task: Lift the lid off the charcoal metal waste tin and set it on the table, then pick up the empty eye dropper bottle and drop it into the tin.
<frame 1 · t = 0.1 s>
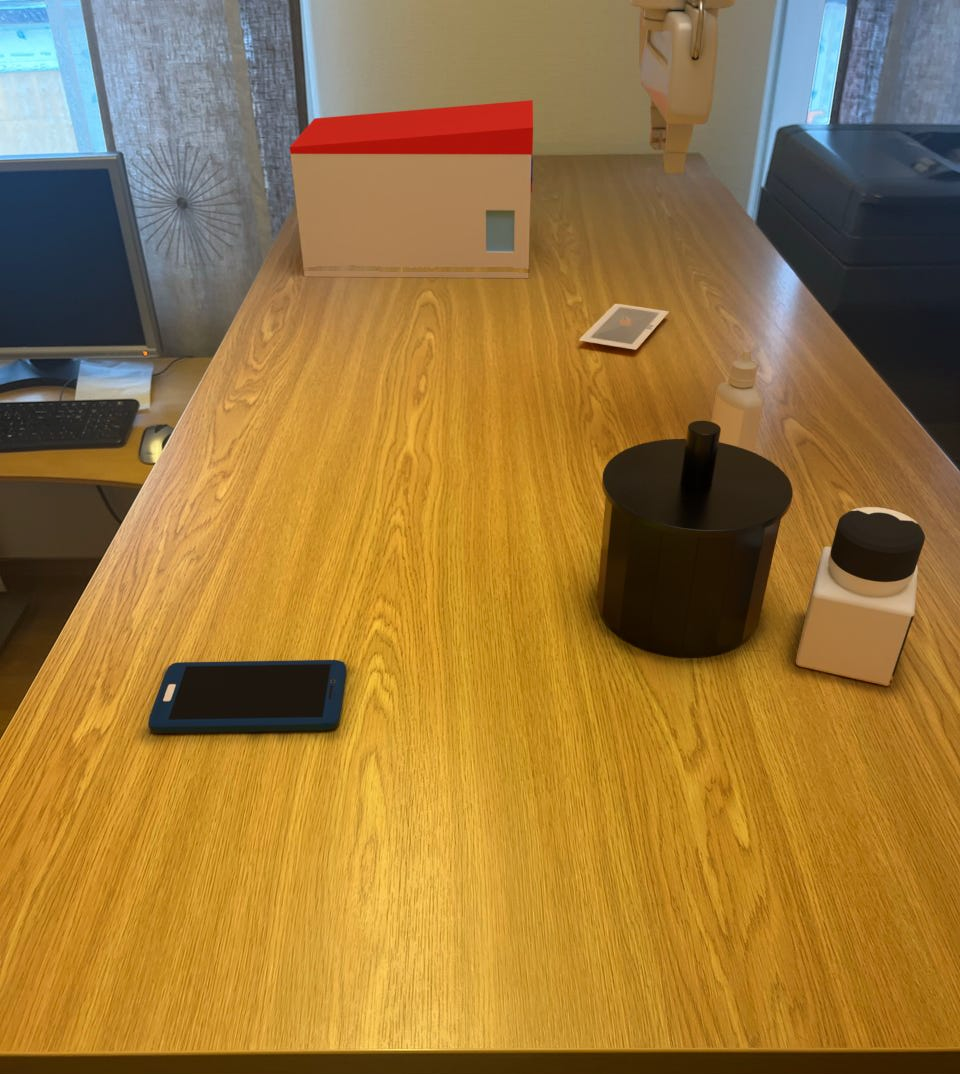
hand: (665, 160, 91), 28 cm above the table, tool pointing down, fingers open, 8 cm apart
tin lid: (695, 488, 75), point 11 cm above the table, touching tin
eye dropper bottle: (728, 462, 103), on the table
tin: (677, 607, 82), on the table
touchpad: (624, 334, 132), on the table
bookstore: (423, 257, 159), on the table
cell phone: (251, 700, 74), on the table
medicine bottle: (845, 652, 78), on the table
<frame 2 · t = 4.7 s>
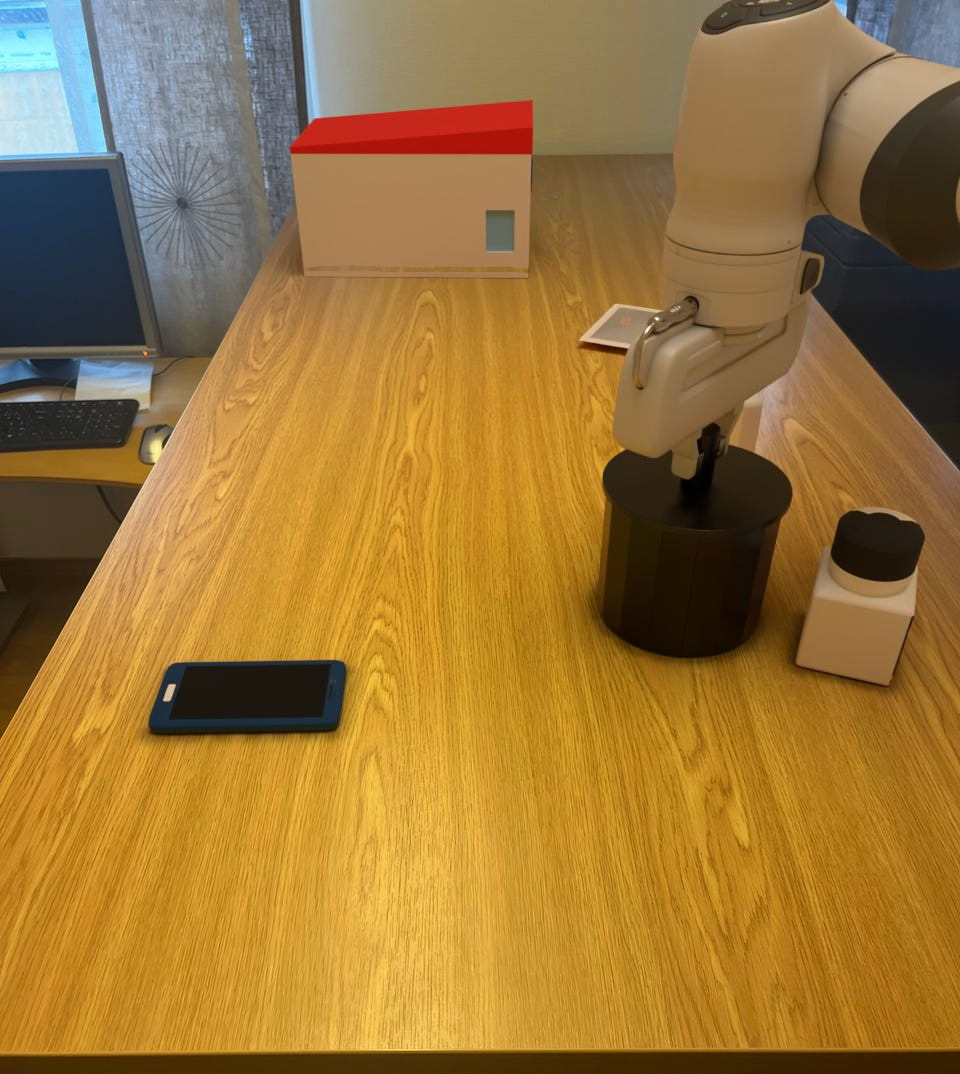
hand: (699, 464, 74), 14 cm above the table, tool pointing down, fingers closed on tin lid, 2 cm apart
tin lid: (695, 488, 75), point 12 cm above the table, touching gripper, tin
everything else where it was.
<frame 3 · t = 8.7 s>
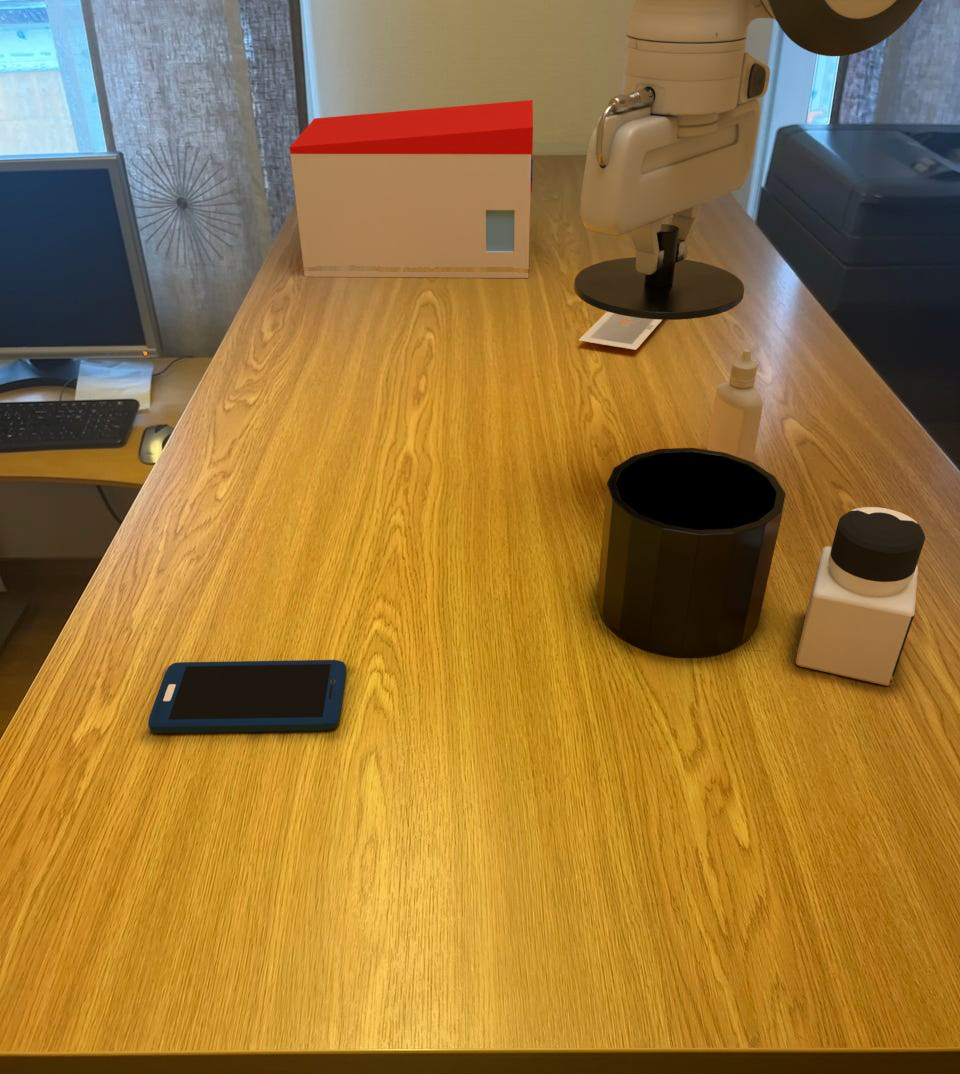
hand: (661, 266, 83), 23 cm above the table, tool pointing down, fingers closed on tin lid, 2 cm apart
tin lid: (657, 289, 84), point 21 cm above the table, touching gripper
everything else where it was.
when the fingers open (2 cm above the table, at t = 13.1 s): tin lid stays where it is, point 1 cm above the table.
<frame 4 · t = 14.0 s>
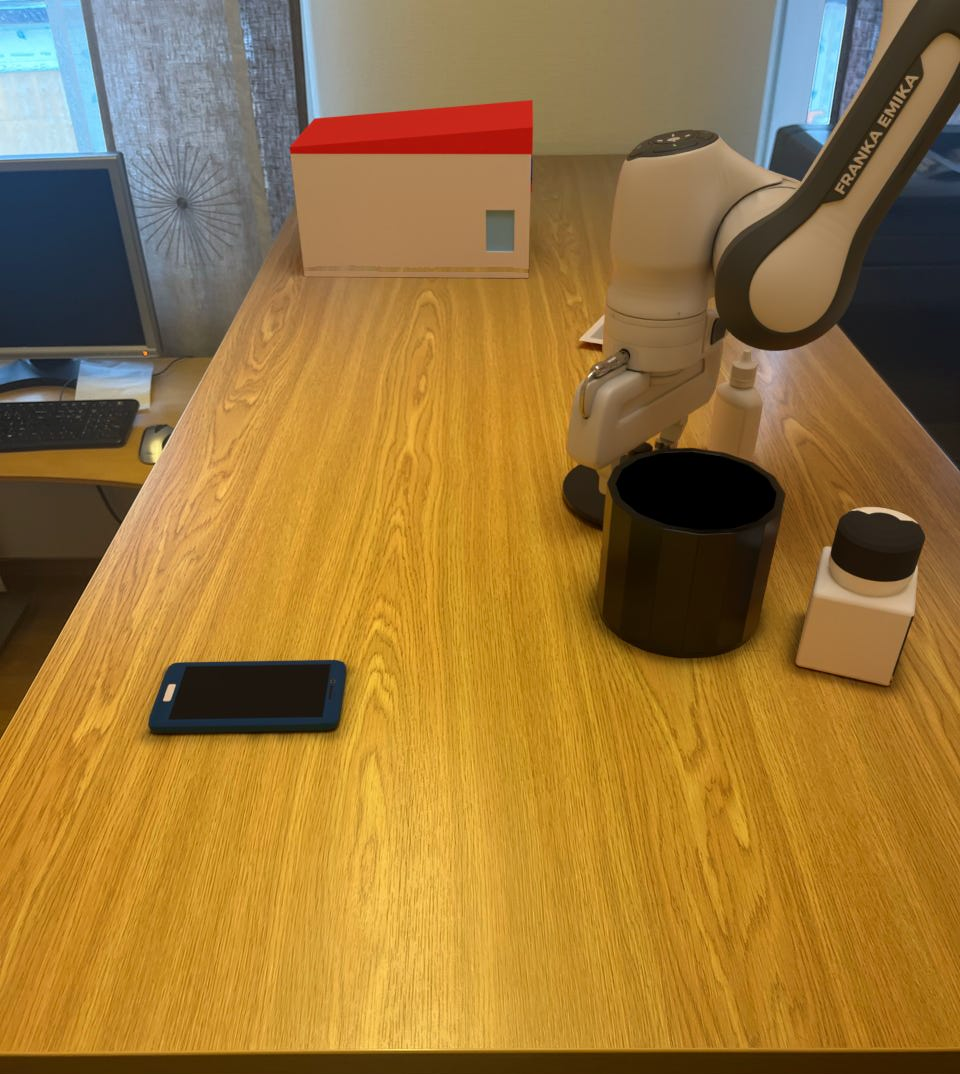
hand: (638, 474, 95), 3 cm above the table, tool pointing down, fingers open, 8 cm apart
tin lid: (635, 493, 97), point 1 cm above the table
everything else where it was.
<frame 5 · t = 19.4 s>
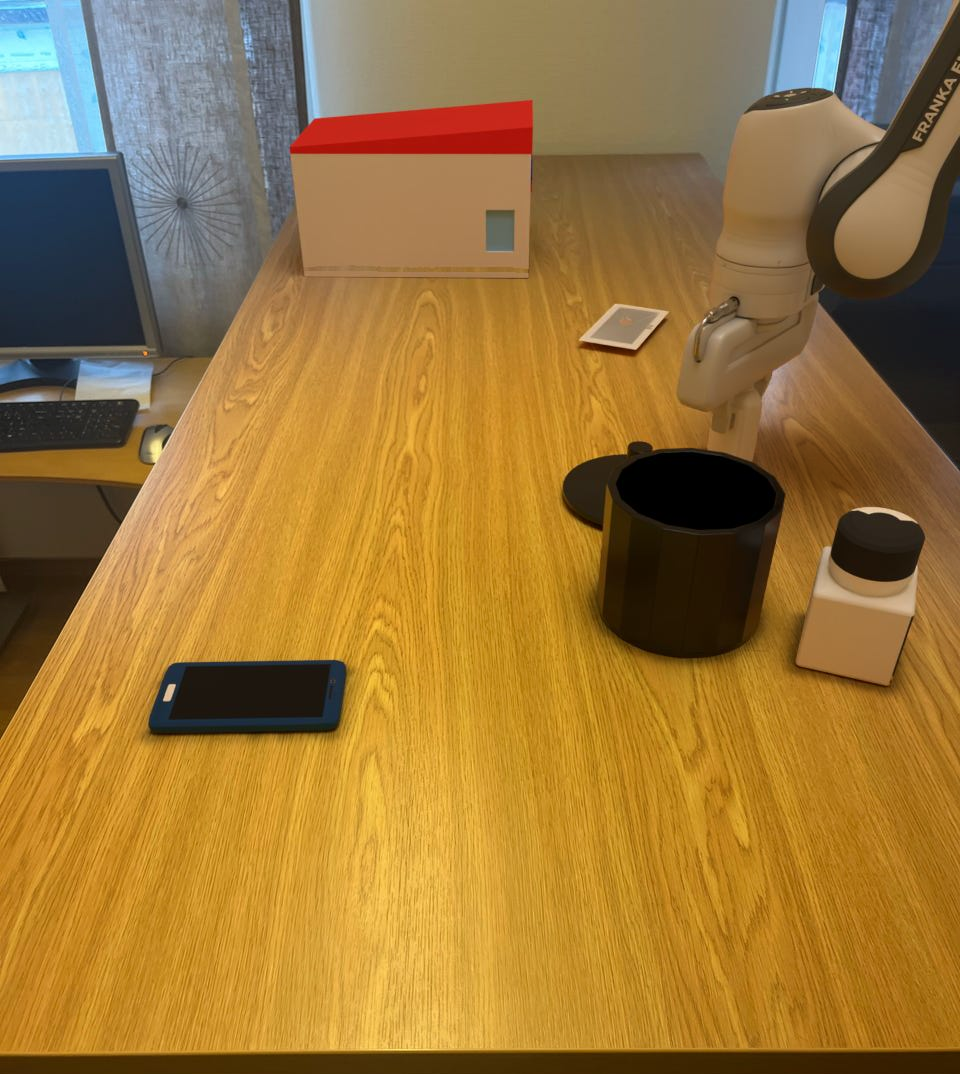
hand: (735, 421, 100), 5 cm above the table, tool pointing down, fingers closed on eye dropper bottle, 4 cm apart
eye dropper bottle: (728, 462, 103), on the table, touching gripper
everything else where it was.
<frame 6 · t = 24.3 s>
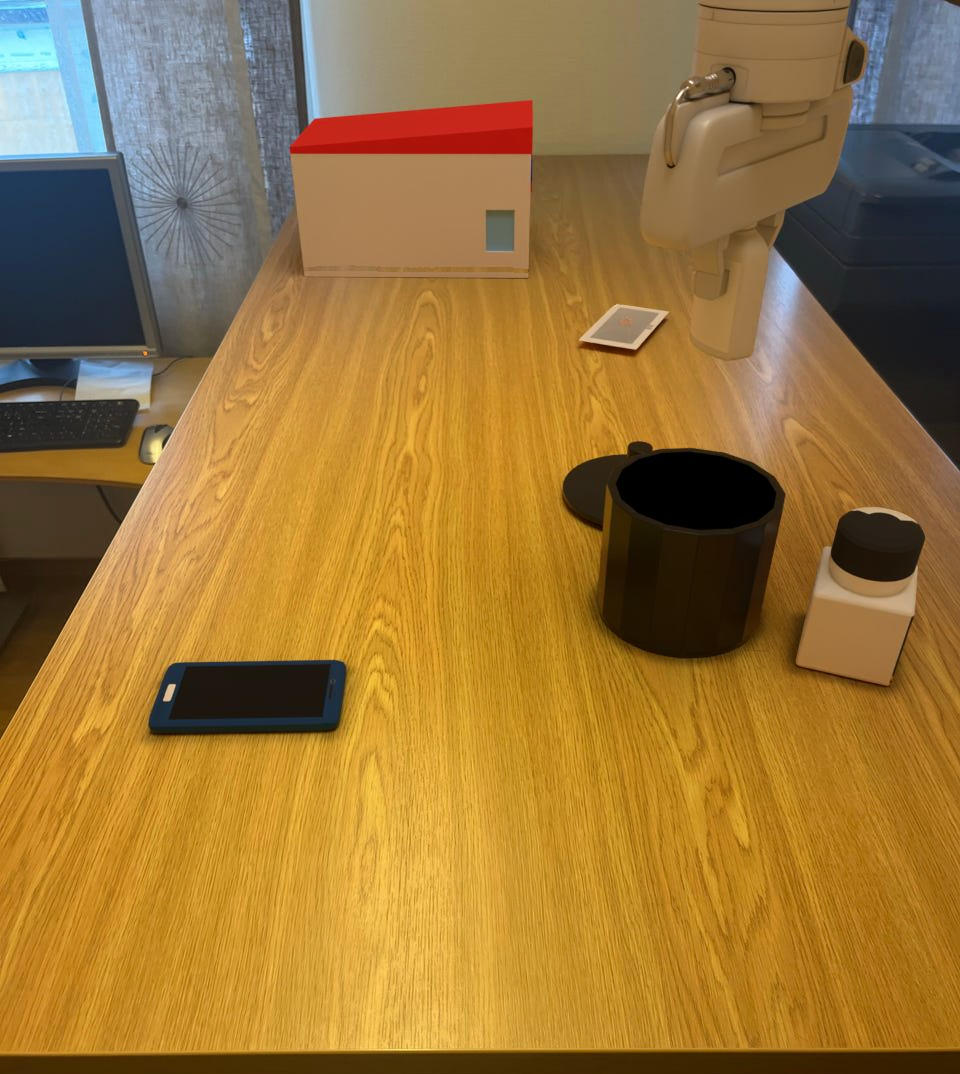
hand: (729, 286, 69), 26 cm above the table, tool pointing down, fingers closed on eye dropper bottle, 4 cm apart
eye dropper bottle: (719, 350, 72), point 21 cm above the table, touching gripper
everything else where it was.
when the fingers open (8 cm above the table, at t = 29.8 s): eye dropper bottle stays where it is, resting on tin.
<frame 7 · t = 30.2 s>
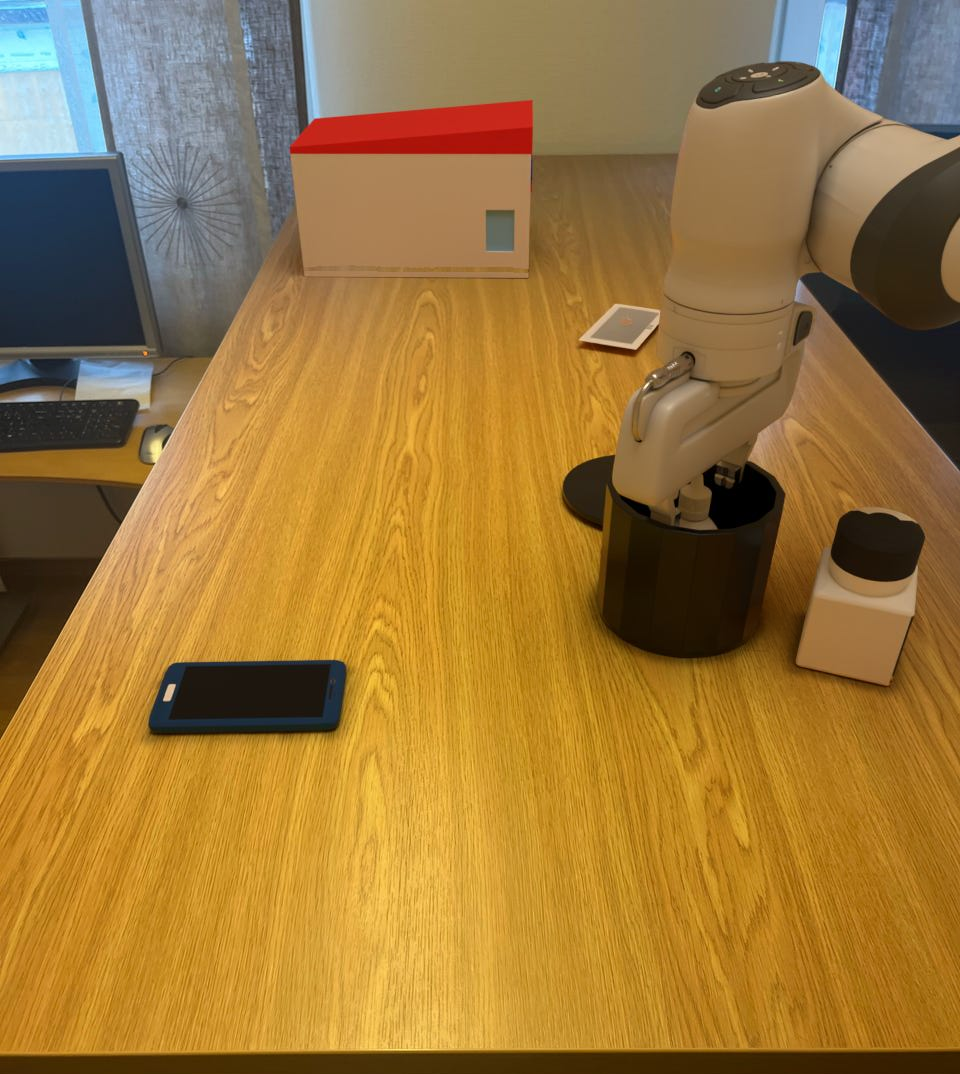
hand: (696, 506, 77), 10 cm above the table, tool pointing down, fingers open, 8 cm apart
eye dropper bottle: (679, 603, 82), resting on tin
everything else where it was.
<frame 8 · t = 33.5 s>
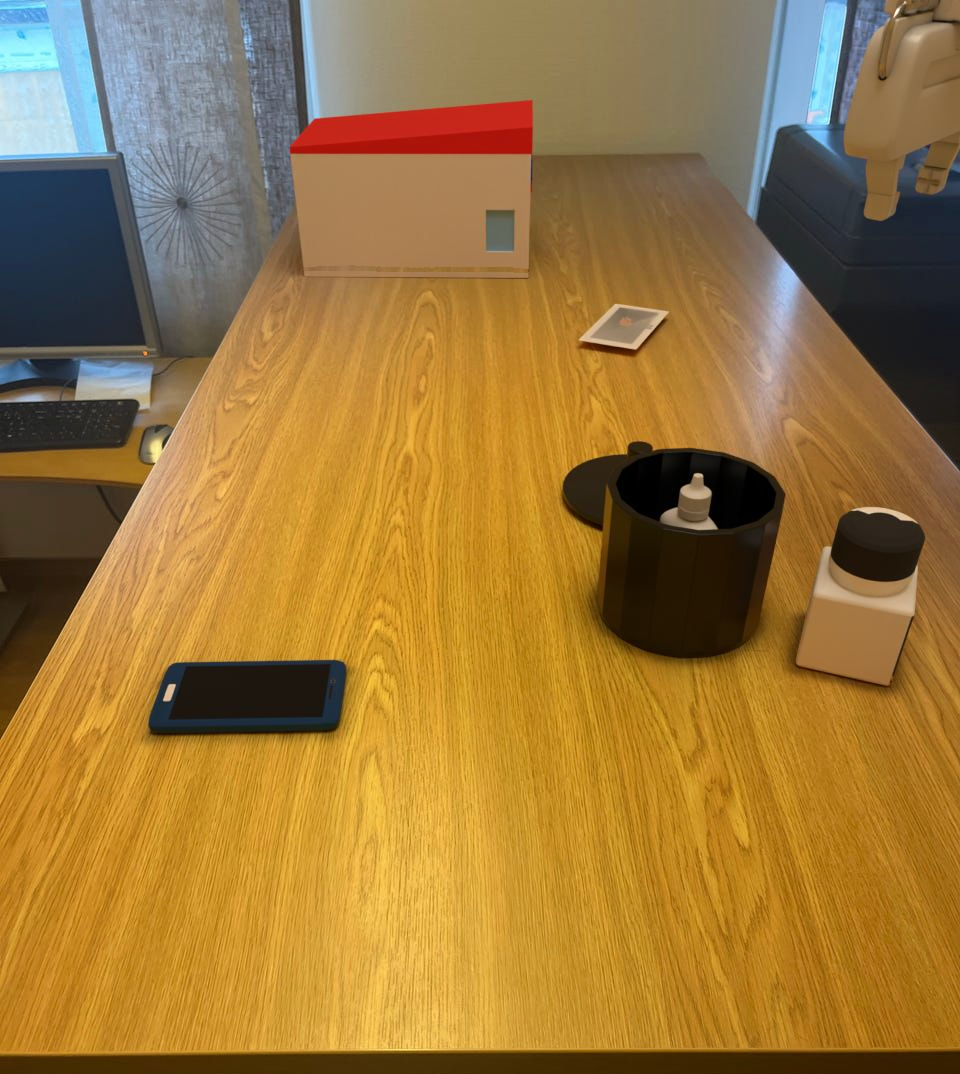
hand: (904, 204, 74), 29 cm above the table, tool pointing down, fingers open, 8 cm apart
nothing on the table moved.
at the end: eye dropper bottle inside the target area in the tin (0.2 cm from its centre), point 0.3 cm above the tin's base; tin lid inside the target area (0.1 cm from its centre), point 0.6 cm above the table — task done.
